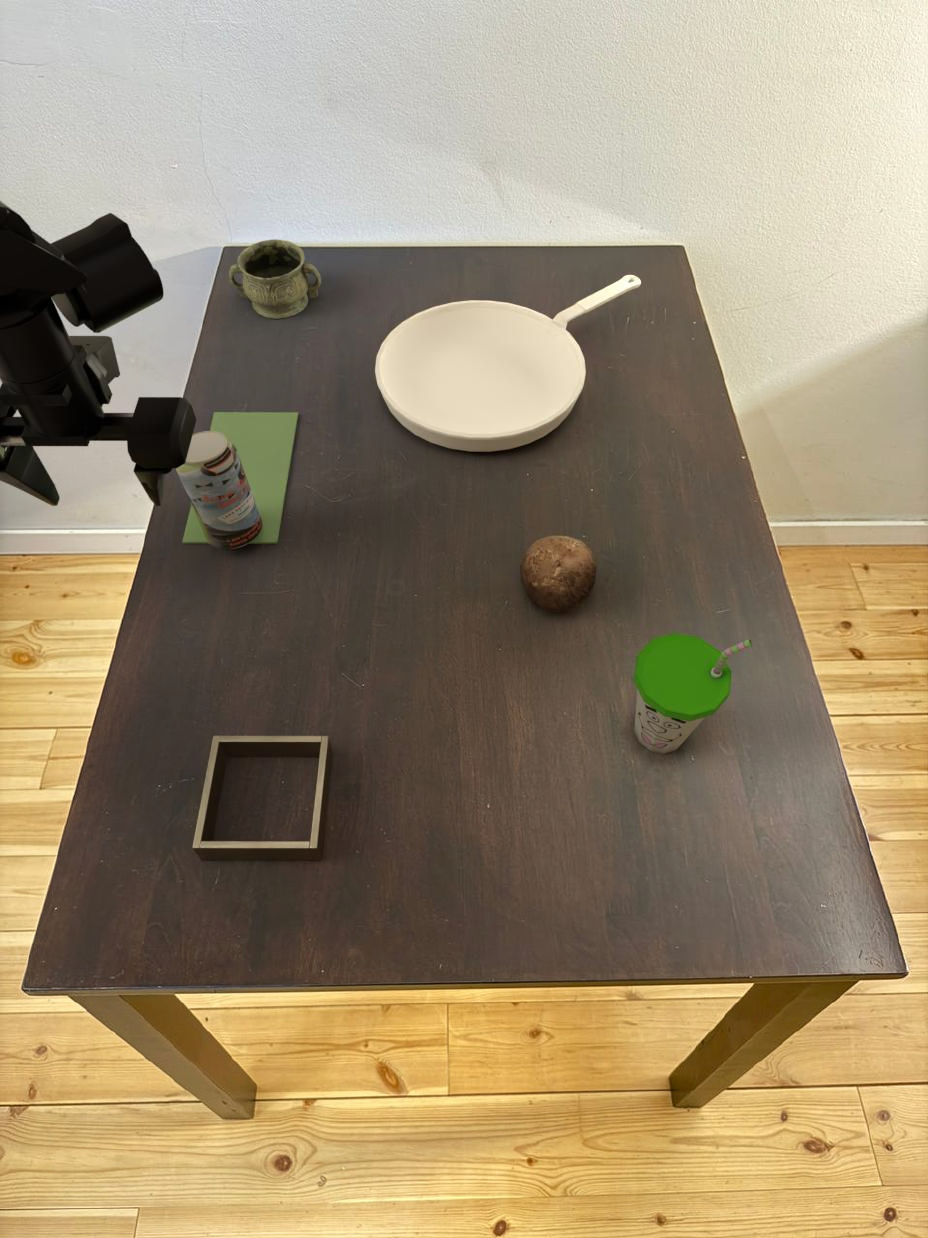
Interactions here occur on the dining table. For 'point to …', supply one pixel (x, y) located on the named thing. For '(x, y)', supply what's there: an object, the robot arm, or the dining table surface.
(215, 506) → the beverage can
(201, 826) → the frame
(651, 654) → the cup
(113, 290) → the robot arm
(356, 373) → the dining table surface
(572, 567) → the mushroom
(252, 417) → the green mat
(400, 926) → the dining table surface
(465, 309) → the pan
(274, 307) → the vessel
